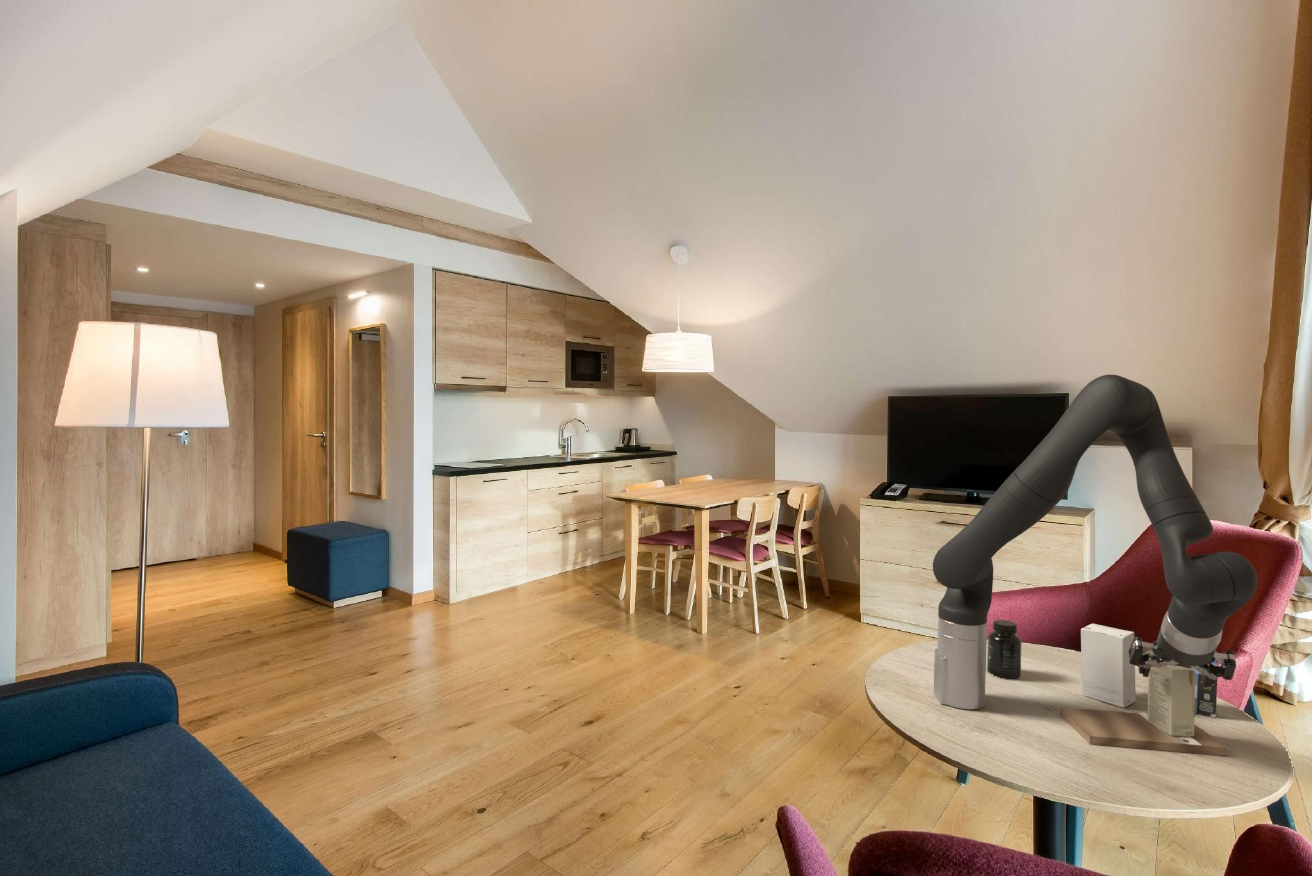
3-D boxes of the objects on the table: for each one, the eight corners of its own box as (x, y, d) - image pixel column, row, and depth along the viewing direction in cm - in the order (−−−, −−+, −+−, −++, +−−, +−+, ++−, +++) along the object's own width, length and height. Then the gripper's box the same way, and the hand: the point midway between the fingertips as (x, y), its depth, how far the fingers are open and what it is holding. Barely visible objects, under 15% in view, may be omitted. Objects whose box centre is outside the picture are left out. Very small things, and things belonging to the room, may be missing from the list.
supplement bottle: (983, 667, 154) (984, 617, 154) (1014, 669, 153) (1016, 619, 152) (992, 678, 148) (993, 626, 147) (1025, 681, 146) (1026, 628, 146)
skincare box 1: (1135, 702, 136) (1138, 632, 135) (1123, 709, 132) (1125, 637, 132) (1091, 688, 143) (1093, 621, 142) (1078, 694, 139) (1080, 626, 139)
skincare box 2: (1195, 737, 118) (1197, 670, 117) (1170, 736, 118) (1173, 670, 117) (1168, 720, 124) (1170, 657, 124) (1145, 720, 124) (1147, 657, 124)
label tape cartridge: (1159, 705, 134) (1161, 646, 134) (1160, 699, 137) (1162, 641, 137) (1216, 718, 129) (1218, 657, 128) (1215, 711, 132) (1217, 651, 131)
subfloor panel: (1089, 744, 118) (1089, 735, 118) (1060, 714, 130) (1060, 706, 130) (1227, 756, 114) (1227, 746, 114) (1184, 724, 126) (1184, 715, 126)
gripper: (1242, 619, 106) (1221, 665, 117) (1135, 606, 114) (1124, 651, 124) (1250, 662, 102) (1228, 706, 112) (1138, 645, 109) (1127, 688, 119)
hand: (1173, 677), depth 118 cm, fingers open, 8 cm apart
